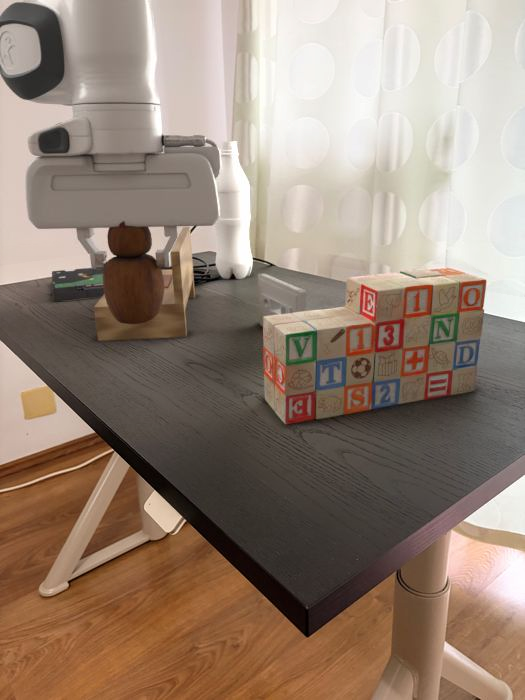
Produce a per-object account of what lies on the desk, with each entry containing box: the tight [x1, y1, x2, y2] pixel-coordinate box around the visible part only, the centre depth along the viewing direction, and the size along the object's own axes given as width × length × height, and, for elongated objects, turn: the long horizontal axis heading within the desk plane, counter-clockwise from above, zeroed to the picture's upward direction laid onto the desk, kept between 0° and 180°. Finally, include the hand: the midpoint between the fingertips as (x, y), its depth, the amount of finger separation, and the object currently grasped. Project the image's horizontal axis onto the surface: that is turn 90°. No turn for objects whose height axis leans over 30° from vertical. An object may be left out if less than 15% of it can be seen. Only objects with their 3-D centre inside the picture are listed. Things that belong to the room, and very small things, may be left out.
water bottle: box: [214, 140, 253, 280], centre depth 110 cm, size 7×7×25 cm
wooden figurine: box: [103, 221, 165, 324], centre depth 65 cm, size 7×6×15 cm
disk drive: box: [51, 267, 104, 302], centre depth 107 cm, size 10×3×15 cm
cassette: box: [257, 272, 307, 327], centre depth 79 cm, size 12×2×8 cm, turn 26°
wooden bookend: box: [93, 226, 196, 342], centre depth 88 cm, size 12×22×12 cm, turn 3°
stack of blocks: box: [262, 267, 487, 425], centre depth 59 cm, size 21×6×12 cm, turn 109°
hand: (131, 267), depth 65 cm, fingers closed on wooden figurine, 6 cm apart
